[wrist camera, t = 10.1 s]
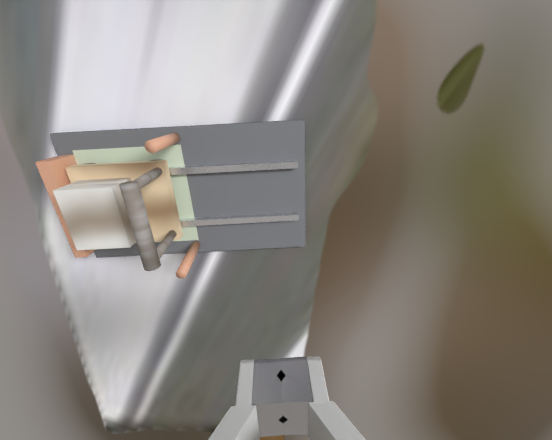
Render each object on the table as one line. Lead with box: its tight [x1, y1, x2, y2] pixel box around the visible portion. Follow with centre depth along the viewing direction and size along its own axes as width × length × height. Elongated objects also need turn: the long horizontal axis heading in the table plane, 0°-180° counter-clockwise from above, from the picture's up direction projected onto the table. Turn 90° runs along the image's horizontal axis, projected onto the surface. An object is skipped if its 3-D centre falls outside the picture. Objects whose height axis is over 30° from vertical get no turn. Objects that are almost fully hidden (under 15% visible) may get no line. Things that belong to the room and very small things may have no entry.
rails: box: [169, 160, 299, 227], centre depth 34 cm, size 8×28×1 cm, turn 93°
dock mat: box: [50, 120, 305, 258], centre depth 35 cm, size 17×30×1 cm, turn 93°
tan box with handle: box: [53, 159, 183, 271], centre depth 30 cm, size 10×11×10 cm
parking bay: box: [35, 133, 200, 278], centre depth 31 cm, size 16×15×7 cm
